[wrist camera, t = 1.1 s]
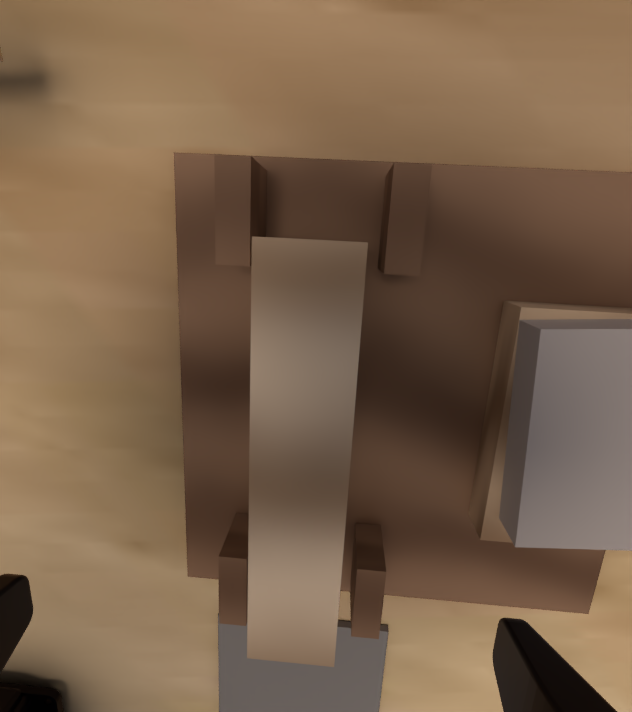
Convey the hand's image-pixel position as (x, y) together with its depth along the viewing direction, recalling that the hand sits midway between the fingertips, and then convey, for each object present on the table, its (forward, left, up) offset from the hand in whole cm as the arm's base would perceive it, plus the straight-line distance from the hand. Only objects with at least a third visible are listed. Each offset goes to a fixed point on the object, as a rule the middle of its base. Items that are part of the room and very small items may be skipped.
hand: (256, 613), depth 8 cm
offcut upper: (0, -10, -10) cm, 14 cm away
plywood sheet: (0, 0, -11) cm, 11 cm away
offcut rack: (0, 0, -12) cm, 12 cm away
